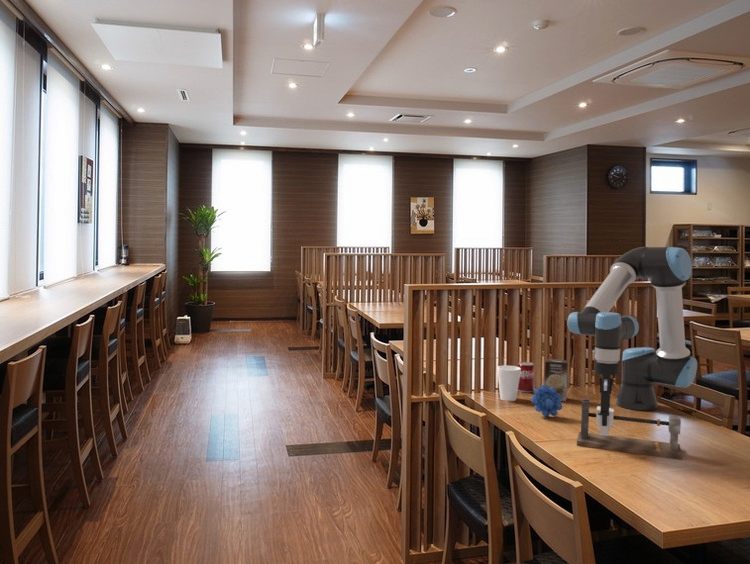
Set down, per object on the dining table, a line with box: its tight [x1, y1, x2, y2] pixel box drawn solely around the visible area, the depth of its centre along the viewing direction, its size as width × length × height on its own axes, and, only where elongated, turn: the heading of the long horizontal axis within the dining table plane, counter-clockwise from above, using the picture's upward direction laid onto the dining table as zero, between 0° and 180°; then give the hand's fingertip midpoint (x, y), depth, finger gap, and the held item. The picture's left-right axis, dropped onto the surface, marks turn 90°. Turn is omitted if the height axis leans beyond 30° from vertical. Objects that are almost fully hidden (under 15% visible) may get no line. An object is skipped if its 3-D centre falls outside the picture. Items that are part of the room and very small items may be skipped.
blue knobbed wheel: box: [530, 384, 563, 418], centre depth 222 cm, size 12×7×12 cm, turn 91°
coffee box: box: [543, 358, 569, 402], centre depth 249 cm, size 9×6×16 cm
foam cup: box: [496, 365, 521, 402], centre depth 248 cm, size 10×9×13 cm
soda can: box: [516, 361, 535, 393], centre depth 262 cm, size 7×7×12 cm
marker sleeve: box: [595, 405, 615, 428], centre depth 193 cm, size 5×5×5 cm
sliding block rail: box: [576, 398, 683, 460], centre depth 190 cm, size 30×10×14 cm, turn 67°
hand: (604, 432), depth 193 cm, fingers closed on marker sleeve, 5 cm apart
